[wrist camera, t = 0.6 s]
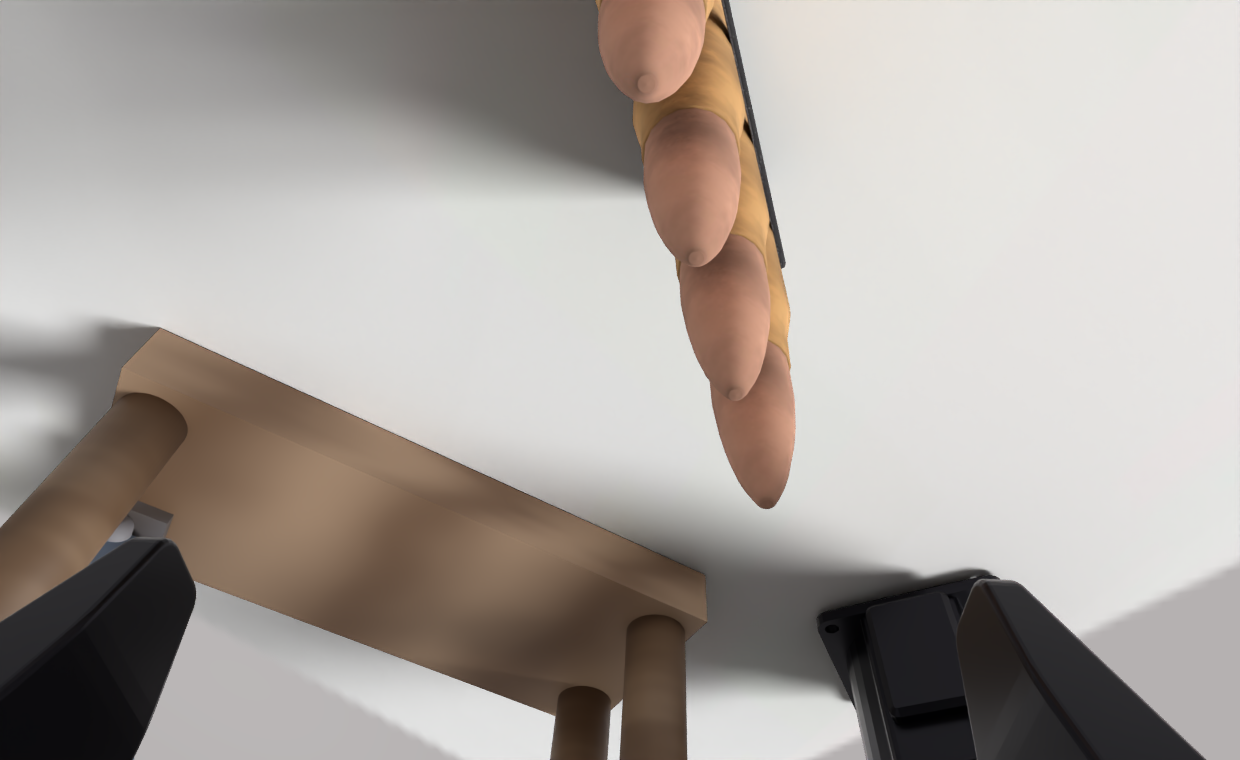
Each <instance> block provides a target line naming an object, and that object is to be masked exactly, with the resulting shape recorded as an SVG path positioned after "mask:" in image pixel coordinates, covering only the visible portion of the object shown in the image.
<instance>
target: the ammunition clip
mask: <svg viewBox="0 0 1240 760" xmlns="http://www.w3.org/2000/svg"><path fill="white" fill-rule="evenodd" d="M595 1H596V4H597V8H598V11H599V15H598V44H599V51H600V54H601V57H602V60H603V63H604V67H605V69H606V72H607V74H608V75H609V77H610V79H611V80H612V81H613V82H614V84H615V85H616V86H617V88H618V89H619V90H620V91H621V92H622V93H623V94H624V95H626V96H627V97H629V98H631V99H632V100H634V103H633V126H634V129H635V132H636V136H637V139H638V142H639V144H640V147H641V154H642V162H643V165H644V190H645V195H646V199H647V204H648V208H649V211H650V214H651V217H652V220H653V223H654V226H655V228H656V230H657V232H658V234H659V236H660V238H661V239H662V241H663V242H664V244H665V246H666V247H667V248H668V249H669V251H670V252H671V253H672V254H673V255H674V256H675V260H676V269H677V276H678V280H679V283H680V298H681V307H682V312H683V316H684V320H685V325H686V329H687V332H688V336H689V339H690V342H691V345H692V348H693V350H694V353H695V355H696V358H697V360H698V362H699V364H700V366H701V368H702V369H703V371H704V373H705V375H706V377H707V378H708V379H709V381H710V388H711V398H712V406H713V411H714V415H715V419H716V423H717V427H718V431H719V435H720V438H721V441H722V444H723V447H724V450H725V453H726V455H727V458H728V460H729V463H730V465H731V467H732V469H733V471H734V473H735V475H736V477H737V479H738V481H739V483H740V484H741V486H742V487H743V489H744V490H745V492H746V493H747V494H748V495H749V496H750V498H751V499H752V500H753V501H754V502H755V503H756V504H757V505H758V506H759V507H761V508H764V509H770V508H772V507H774V506H775V505H776V503H777V502H778V500H779V499H780V497H781V495H782V493H783V491H784V489H785V486H786V483H787V480H788V476H789V471H790V466H791V461H792V455H793V450H794V441H795V401H794V393H793V388H792V382H791V377H790V368H791V364H790V357H789V349H788V342H787V337H788V330H789V323H790V307H789V303H788V298H787V294H786V289H785V285H784V280H783V276H782V271H781V269H782V268H784V267H785V264H786V262H785V258H784V253H783V248H782V244H781V239H780V235H779V230H778V225H777V221H776V216H775V211H774V207H773V202H772V198H771V193H770V188H769V184H768V179H767V175H766V170H765V165H764V161H763V156H762V151H761V147H760V142H759V138H758V133H757V128H756V124H755V119H754V115H753V110H752V105H751V101H750V96H749V91H748V87H747V82H746V78H745V73H744V68H743V64H742V59H741V55H740V50H739V45H738V41H737V36H736V31H735V27H734V22H733V18H732V13H731V8H730V4H729V0H595Z"/></svg>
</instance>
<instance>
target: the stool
mask: <svg viewBox="0 0 1240 760" xmlns="http://www.w3.org/2000/svg"><path fill="white" fill-rule="evenodd" d="M126 516H128V517H130V518H131V519H132V521H133V523H134V529H133V532H132V535H133V536H136V537H159V538H168V539H171V540H172V541H174V542H175V543H176V544H177V546H178V548H179V550H180V552H181V554H182V557H183V559H184V561H185V563H186V565H187V568H188V570H189V572H190V574H191V577H192V579H193V581H196V582H199V583H201V584H204V585H207V586H209V587H212V588H215V589H217V590H220V591H223V592H225V593H228V594H231V595H233V596H236V597H239V598H242V599H244V600H247V601H250V602H252V603H255V604H258V605H260V606H263V607H266V608H268V609H271V610H274V611H276V612H279V613H282V614H284V615H287V616H290V617H292V618H295V619H298V620H300V621H303V622H306V623H308V624H311V625H314V626H316V627H319V628H322V629H324V630H327V631H330V632H332V633H335V634H338V635H340V636H343V637H346V638H348V639H351V640H354V641H356V642H359V643H362V644H364V645H367V646H370V647H372V648H375V649H378V650H380V651H383V652H386V653H388V654H391V655H394V656H396V657H399V658H402V659H405V660H407V661H410V662H413V663H415V664H418V665H421V666H423V667H426V668H429V669H431V670H434V671H437V672H439V673H442V674H445V675H447V676H450V677H453V678H455V679H458V680H461V681H463V682H466V683H469V684H471V685H474V686H477V687H479V688H482V689H485V690H487V691H490V692H493V693H495V694H498V695H501V696H503V697H506V698H509V699H511V700H514V701H517V702H519V703H522V704H525V705H527V706H530V707H533V708H535V709H538V710H541V711H543V712H546V713H549V714H551V715H554V716H556V718H555V726H554V734H553V741H552V749H551V757H550V760H607V756H608V741H609V726H610V711H611V710H612V709H613V708H614V707H615V706H616V705H617V704H618V703H619V702H620V701H621V700H622V699H623V707H622V725H621V744H620V760H687V719H686V660H685V642H686V641H687V640H688V639H689V638H690V637H691V636H692V635H694V634H695V633H696V632H697V631H698V630H699V629H700V628H701V627H702V626H703V625H704V624H706V623H707V602H706V580H705V575H704V574H702V573H699V572H697V571H695V570H693V569H691V568H688V567H686V566H684V565H682V564H680V563H677V562H675V561H673V560H671V559H669V558H666V557H664V556H662V555H660V554H658V553H655V552H653V551H651V550H649V549H647V548H644V547H642V546H640V545H638V544H635V543H633V542H631V541H629V540H627V539H624V538H622V537H620V536H618V535H616V534H613V533H611V532H609V531H607V530H605V529H602V528H600V527H598V526H596V525H594V524H591V523H589V522H587V521H585V520H583V519H580V518H578V517H576V516H574V515H571V514H569V513H567V512H565V511H563V510H560V509H558V508H556V507H554V506H552V505H549V504H547V503H545V502H543V501H541V500H538V499H536V498H534V497H532V496H530V495H527V494H525V493H523V492H521V491H519V490H516V489H514V488H512V487H510V486H507V485H505V484H503V483H501V482H499V481H496V480H494V479H492V478H490V477H488V476H485V475H483V474H481V473H479V472H477V471H474V470H472V469H470V468H468V467H466V466H463V465H461V464H459V463H457V462H455V461H452V460H450V459H448V458H446V457H443V456H441V455H439V454H437V453H435V452H432V451H430V450H428V449H426V448H424V447H421V446H419V445H417V444H415V443H413V442H410V441H408V440H406V439H404V438H402V437H399V436H397V435H395V434H393V433H391V432H388V431H386V430H384V429H382V428H379V427H377V426H375V425H373V424H371V423H368V422H366V421H364V420H362V419H360V418H357V417H355V416H353V415H351V414H349V413H346V412H344V411H342V410H340V409H338V408H335V407H333V406H331V405H329V404H327V403H324V402H322V401H320V400H318V399H315V398H313V397H311V396H309V395H307V394H304V393H302V392H300V391H298V390H296V389H293V388H291V387H289V386H287V385H285V384H282V383H280V382H278V381H276V380H274V379H271V378H269V377H267V376H265V375H263V374H260V373H258V372H256V371H254V370H251V369H249V368H247V367H245V366H243V365H240V364H238V363H236V362H234V361H232V360H229V359H227V358H225V357H223V356H221V355H218V354H216V353H214V352H212V351H210V350H207V349H205V348H203V347H201V346H199V345H196V344H194V343H192V342H190V341H187V340H185V339H183V338H181V337H179V336H176V335H174V334H172V333H170V332H168V331H165V330H163V329H161V328H160V329H159V330H158V331H157V332H156V333H155V334H154V335H153V336H152V337H151V338H150V339H149V340H148V341H147V342H146V343H145V344H144V345H143V346H142V347H141V348H140V349H139V350H138V351H137V352H136V353H135V355H134V356H133V357H132V358H131V359H130V360H129V361H128V362H127V363H126V364H125V365H124V366H123V367H122V369H121V373H120V377H119V381H118V384H117V388H116V392H115V396H114V399H113V403H112V407H111V409H110V410H109V411H108V412H107V413H106V414H105V415H104V416H103V418H102V419H101V420H100V421H99V422H98V423H97V424H96V425H95V426H94V427H93V428H92V429H91V431H90V432H89V433H88V434H87V435H86V436H85V437H84V438H83V439H82V440H81V441H80V442H79V443H78V445H77V446H76V447H75V448H74V449H73V450H72V451H71V452H70V453H69V454H68V455H67V456H66V457H65V459H64V460H63V461H62V462H61V463H60V464H59V465H58V466H57V467H56V468H55V469H54V470H53V472H52V473H51V474H50V475H49V476H48V477H47V478H46V479H45V480H44V481H43V482H42V483H41V484H40V486H39V487H38V488H37V489H36V490H35V491H34V492H33V493H32V494H31V495H30V496H29V497H28V498H27V500H26V501H25V502H24V503H23V504H22V505H21V506H20V507H19V508H18V509H17V510H16V511H15V513H14V514H13V515H12V516H11V517H10V518H9V519H8V520H7V521H6V522H5V523H4V524H3V526H2V527H1V528H0V622H1V621H2V620H4V619H6V618H7V617H9V616H10V615H12V614H13V613H15V612H16V611H18V610H20V609H21V608H23V607H24V606H26V605H27V604H29V603H31V602H32V601H34V600H35V599H37V598H38V597H40V596H42V595H43V594H45V593H46V592H48V591H49V590H51V589H52V588H54V587H56V586H57V585H59V584H60V583H62V582H63V581H65V580H67V579H68V578H70V577H71V576H73V575H74V574H76V573H77V572H79V571H81V570H82V569H84V568H85V567H87V566H88V565H89V564H90V563H91V561H92V560H93V559H94V557H95V556H96V555H97V553H98V552H99V551H100V550H101V548H102V547H103V546H104V544H105V543H106V542H107V540H108V539H109V538H110V536H111V535H112V534H113V533H114V531H115V530H116V529H117V527H118V526H119V525H120V523H121V522H122V521H123V519H124V518H125V517H126Z"/></svg>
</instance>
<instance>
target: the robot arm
mask: <svg viewBox="0 0 1240 760" xmlns="http://www.w3.org/2000/svg"><path fill="white" fill-rule="evenodd" d="M195 600H196V588H195V584H194V581H193V579H192V577H191V574H190V572H189V570H188V568H187V565H186V563H185V561H184V559H183V557H182V554H181V552H180V550H179V548H178V546H177V544H176V543H175V542H174V541H172V540H171V539H168V538H159V537H135V538H132V539H130V540H128V541H126V542H124V543H123V544H121V545H120V546H118V547H117V548H115V549H113V550H112V551H110V552H109V553H107V554H106V555H104V556H103V557H101V558H99V559H98V560H96V561H95V562H93V563H92V564H90V565H88V566H87V567H85V568H84V569H82V570H81V571H79V572H77V573H76V574H74V575H73V576H71V577H70V578H68V579H67V580H65V581H63V582H62V583H60V584H59V585H57V586H56V587H54V588H52V589H51V590H49V591H48V592H46V593H45V594H43V595H42V596H40V597H38V598H37V599H35V600H34V601H32V602H31V603H29V604H27V605H26V606H24V607H23V608H21V609H20V610H18V611H16V612H15V613H13V614H12V615H10V616H9V617H7V618H6V619H4V620H2V621H1V622H0V760H133V758H134V756H135V754H136V752H137V750H138V748H139V746H140V744H141V741H142V739H143V737H144V735H145V733H146V730H147V728H148V726H149V724H150V721H151V719H152V716H153V714H154V711H155V709H156V706H157V704H158V701H159V698H160V695H161V693H162V690H163V688H164V685H165V682H166V680H167V677H168V674H169V672H170V669H171V666H172V664H173V661H174V658H175V656H176V653H177V650H178V648H179V645H180V642H181V640H182V637H183V635H184V632H185V629H186V627H187V624H188V621H189V619H190V616H191V613H192V611H193V608H194V605H195ZM816 620H817V626H818V632H819V634H820V636H821V638H822V640H823V642H824V645H825V647H826V649H827V651H828V653H829V655H830V657H831V659H832V661H833V663H834V666H835V668H836V670H837V672H838V674H839V676H840V678H841V680H842V682H843V684H844V686H845V689H846V691H847V693H848V695H849V697H850V699H851V701H852V703H853V705H854V707H855V710H856V712H857V717H858V722H859V727H860V731H861V736H862V741H863V745H864V751H865V756H866V760H1206V759H1205V758H1204V757H1203V756H1202V755H1201V754H1200V753H1199V752H1198V751H1197V750H1196V749H1194V748H1193V747H1192V746H1191V745H1190V744H1189V743H1188V742H1187V741H1186V740H1185V739H1184V738H1183V737H1182V736H1181V735H1180V734H1179V733H1178V732H1176V731H1175V730H1174V729H1173V728H1172V727H1171V726H1170V725H1169V724H1168V723H1167V722H1166V721H1165V720H1164V719H1163V718H1162V717H1161V716H1160V715H1159V714H1158V713H1157V712H1155V711H1154V710H1153V709H1152V708H1151V707H1150V706H1149V705H1148V704H1147V703H1146V702H1145V701H1144V700H1143V699H1142V698H1141V697H1140V696H1139V695H1138V694H1137V693H1135V692H1134V691H1133V690H1132V689H1131V688H1130V687H1129V686H1128V685H1127V684H1126V683H1125V682H1124V681H1123V680H1122V679H1120V677H1119V676H1117V675H1116V674H1115V673H1114V672H1113V671H1112V670H1111V669H1110V668H1109V667H1108V666H1107V665H1106V664H1105V663H1104V662H1103V661H1102V660H1101V659H1099V657H1097V656H1096V655H1095V654H1094V653H1093V652H1092V651H1091V650H1090V649H1089V648H1088V647H1087V646H1086V645H1085V644H1084V643H1083V642H1082V641H1081V640H1080V639H1079V638H1077V637H1076V636H1075V635H1074V634H1073V633H1072V632H1071V631H1070V630H1069V629H1068V628H1067V627H1066V626H1065V625H1064V624H1063V623H1062V622H1061V621H1060V620H1059V619H1057V618H1056V617H1055V616H1054V615H1053V614H1052V613H1051V612H1050V611H1049V610H1048V609H1047V608H1046V607H1045V606H1044V605H1043V604H1042V603H1041V602H1040V601H1038V600H1037V599H1036V598H1035V597H1034V596H1033V595H1032V594H1031V593H1030V592H1029V591H1028V590H1027V589H1026V588H1025V587H1024V586H1022V585H1021V584H1019V583H1018V582H1015V581H1012V580H1000V578H998V577H996V576H992V575H988V576H981V577H977V578H973V579H968V580H964V581H959V582H955V583H951V584H946V585H942V586H937V587H933V588H929V589H924V590H920V591H915V592H911V593H906V594H902V595H898V596H893V597H889V598H884V599H880V600H876V601H871V602H867V603H862V604H858V605H854V606H849V607H845V608H840V609H836V610H832V611H827V612H824V613H822V614H820V615H819V616H818V617H817V619H816Z"/></svg>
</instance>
